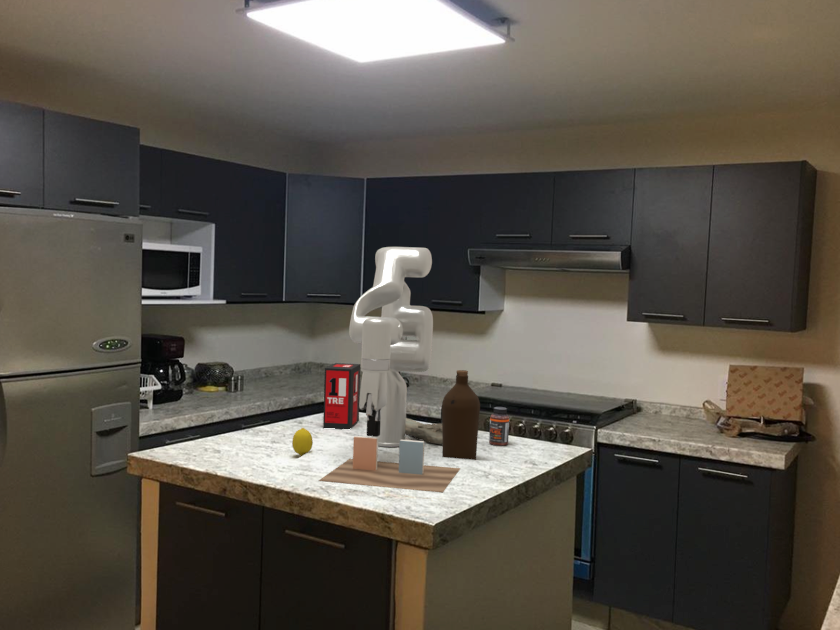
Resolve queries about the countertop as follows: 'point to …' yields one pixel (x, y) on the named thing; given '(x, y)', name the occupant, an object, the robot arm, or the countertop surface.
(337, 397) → the cleaning product box
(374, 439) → the tile
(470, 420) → the olive oil
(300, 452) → the lemon
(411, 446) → the tile
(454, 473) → the board
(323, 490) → the countertop surface
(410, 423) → the long grey stone
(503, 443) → the supplement bottle
